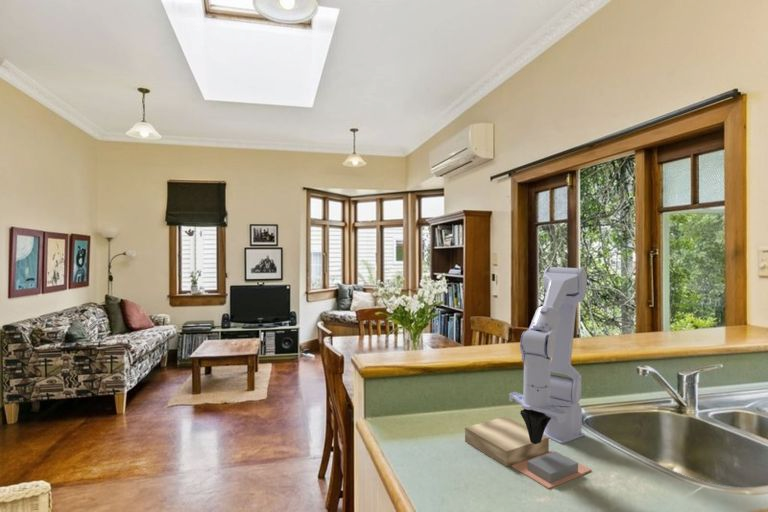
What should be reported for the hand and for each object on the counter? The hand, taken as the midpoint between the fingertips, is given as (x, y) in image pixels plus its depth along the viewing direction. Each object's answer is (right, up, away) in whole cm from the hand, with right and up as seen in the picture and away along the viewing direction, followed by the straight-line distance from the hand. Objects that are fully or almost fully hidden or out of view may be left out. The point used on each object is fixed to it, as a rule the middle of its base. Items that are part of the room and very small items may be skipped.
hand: (535, 442), depth 98 cm
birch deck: (-5, -4, +8) cm, 10 cm away
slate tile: (+2, -3, -4) cm, 5 cm away
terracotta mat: (+3, -5, -2) cm, 6 cm away
